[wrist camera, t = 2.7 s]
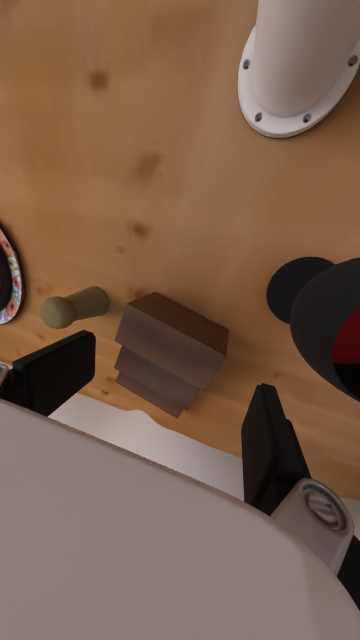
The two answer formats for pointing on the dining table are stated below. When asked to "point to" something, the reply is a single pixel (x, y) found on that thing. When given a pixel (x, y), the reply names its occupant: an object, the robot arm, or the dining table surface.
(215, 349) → the spice rack
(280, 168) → the dining table surface
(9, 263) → the chocolate cake
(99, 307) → the olive peg figure
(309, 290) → the wine glass
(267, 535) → the robot arm
